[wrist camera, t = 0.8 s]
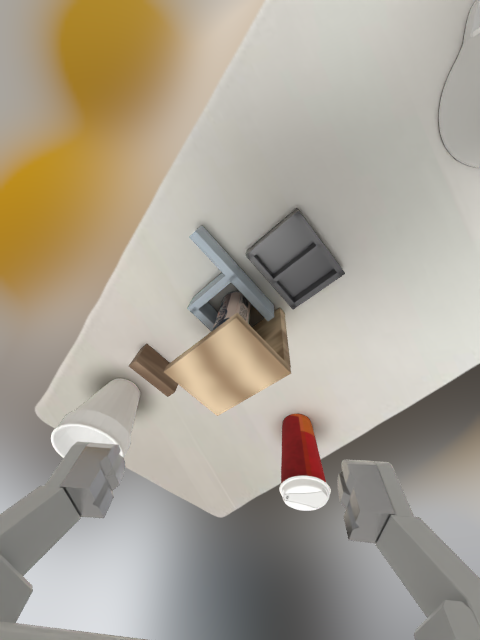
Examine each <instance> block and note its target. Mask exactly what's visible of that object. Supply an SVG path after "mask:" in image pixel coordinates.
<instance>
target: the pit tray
mask: <svg viewBox="0 0 480 640" xmlns="http://www.w3.org/2000/svg"><path fill="white" fill-rule="evenodd" d="M246 256H247V258H248V259H249V260H250V261H251V262H252V263H253V264H254V266H255V267H256V268H257V269H258V270H259V271H260V272H261V274H262V275H263V276H264V277H265V278H266V279H267V280H268V282H269V283H270V284H271V285H272V286H273V287H274V288H275V290H276V291H277V292H278V293H279V294H280V295H281V296H282V298H283V299H284V300H285V301H286V302H287V303H288V304H289V306H290V307H291V308H292V309H294V308H296V307H297V306H299V305H300V304H302V303H303V302H305V301H306V300H308V299H309V298H310V297H312V296H313V295H315V294H316V293H318V292H319V291H321V290H322V289H324V288H325V287H326V286H328V285H329V284H331V283H332V282H334V281H335V280H337V279H338V278H340V277H341V276H342V275H344V274H345V272H344V271H343V270H342V268H341V267H340V265H339V264H338V263H337V261H336V260H335V259H334V257H333V256H332V255H331V253H330V252H329V251H328V249H327V248H326V247H325V245H324V244H323V242H322V241H321V240H320V238H319V237H318V236H317V234H316V233H315V232H314V230H313V229H312V228H311V226H310V225H309V224H308V222H307V221H306V220H305V218H304V217H303V215H302V214H301V213H300V211H299V210H298V209H297V208H296V209H295V210H294V211H293V212H292V213H290V214H289V215H288V216H287V217H286V218H285V219H283V220H282V221H281V222H280V223H279V224H278V225H276V226H275V227H274V228H273V229H272V230H271V231H269V232H268V233H267V234H266V235H265V236H264V237H262V238H261V239H260V240H259V241H258V242H257V243H255V244H254V245H253V246H252V247H251V248H250V249H248V250H247V252H246Z"/></svg>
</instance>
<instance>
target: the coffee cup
mask: <svg viewBox="0 0 480 640" xmlns="http://www.w3.org/2000/svg"><path fill="white" fill-rule="evenodd" d="M330 491H331V490H330V487H329V486H328V485H327V483H326V481H325V477H324V473H323V468H322V464H321V460H320V456H319V452H318V448H317V444H316V440H315V436H314V432H313V428H312V424H311V421H310V419H309V418H308V417H306V416H305V415H302V414H292V415H289V416H287V417H286V418H285V419H284V420H283V425H282V466H281V485H280V493H281V495H282V496H283V500H284V502H285V503H286V504H287V505H288V506H290V507H292V508H295V509H298V510H315V509H318V508H320V507H322V506H324V505H325V504H326V502H327V500H328V499H329V495H330Z"/></svg>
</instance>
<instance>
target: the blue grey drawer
mask: <svg viewBox="0 0 480 640" xmlns="http://www.w3.org/2000/svg"><path fill="white" fill-rule="evenodd" d="M189 238H190V239H191V240H192V241H193V242H194V243H195V244H196V245H197V246H198V247H199V248H200V249H201V250H202V251H203V253H204V254H205V255H206V256H207V257H208V258H209V259H210V260H211V261H212V262H213V263H214V264H215V265H216V266H217V267H218V269H219V270H220V271H221V272H222V273H221V274H220V275H219V276H218V277H216V278H215V279H214V280H213V281H212V282H211V283H209V284H208V285H207V286H206V287H205V288H204V289H202V290H201V291H200V292H199V293H198V294H197V295H195V296H194V297H193V299H192V301H191V302H190V304H189V306H188V308H187V309H188V310H189V311H190V312H192V313H193V314H194V315H195V316H196V317H197V318H198V319H199V320H200V321H201V322H202V323H203V324H204V325H205V326H206V327H207V328H208V329H209V330H210V331H211V332H212V330H213V327H214V324H215V321H216V318H217V315H218V312H217V311H216V310H215V309H214V308H213V307H212V306H211V305H210V304H209V303H208V301H209V300H210V299H211V298H213V297H214V296H215V295H216V294H217V293H219V292H220V291H221V290H222V289H224V288H225V287H226V286H227V285H228V284H230V283H231V282H232V284H233V285H234V286H235V287H236V288H237V289H238V290H239V291H240V292H241V293H242V294H243V295H244V296H245V297H246V299H247V300H248V301H249V302H250V303H251V304H252V305H253V306H254V307H255V308H256V309H257V310H258V311H259V312H260V313H261V315H262V316H263V317H264V318H265V319H266V320H267V321H269V320H271V319H272V318H274V305H273V304H272V303H271V302H270V300H269V299H268V298H267V297H266V296H265V295H264V294H263V293H262V292H261V290H260V289H259V288H258V287H257V286H256V285H255V284H254V283H253V281H252V280H251V279H250V278H249V277H248V276H247V275H246V274H245V273H244V271H243V270H242V269H241V268H240V267H239V266H238V265H237V264H236V263H235V261H234V260H233V259H232V258H231V257H230V256H229V255H228V254H227V253H226V251H225V250H224V249H223V248H222V247H221V246H220V245H219V244H218V243H217V241H216V240H215V239H214V238H213V237H212V236H211V235H210V234H209V233H208V231H207V230H206V229H205V228H204V227H203V226H202V225H201V226H200V227H199V228H198V229H197V230H196V231H195V232H194V233H193V234H192V235H191V236H190V237H189Z"/></svg>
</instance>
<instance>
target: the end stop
mask: <svg viewBox="0 0 480 640" xmlns="http://www.w3.org/2000/svg"><path fill="white" fill-rule="evenodd" d="M168 364H170V363H169V362H168V361H167V360H166V359H164V358H163V357H162V356H161V355H160V354H159V353H157V352H156V351H155V350H154V349H153V348H151V347H150V346H149V345H148V344H146V345H145V346H144V347H143V348H141V349H140V351H139V352H138V354H137V355H136V356H135V358H134V359H133V361H132V362H131V364H130V365H129V367H130V368H132V369H133V370H134V371H135V372H137V373H138V374H139V375H141V376H142V377H143V378H144V379H146V380H147V381H148V382H149V383H151V384H152V385H153V386H155V387H156V388H157V389H158V390H160V391H161V392H162V393H164V394H165V395H166V396H167V397H168V396H170V395H171V394H173V393H174V392H175V391H176V388H177V386H178V383H176V382H175V381H174V380H173V379H172V378H170V377H169V376H168V375H167V374H165V373H164V370H165V368H166V366H167V365H168Z"/></svg>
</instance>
